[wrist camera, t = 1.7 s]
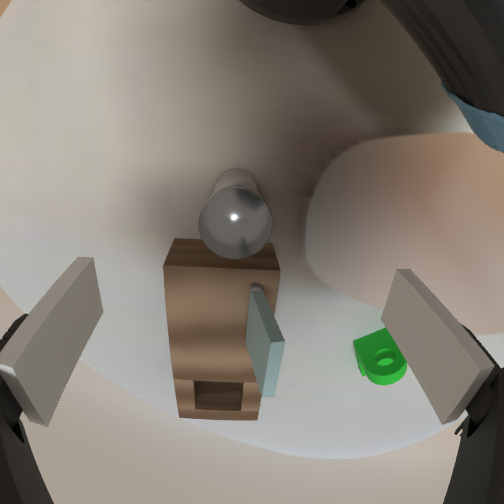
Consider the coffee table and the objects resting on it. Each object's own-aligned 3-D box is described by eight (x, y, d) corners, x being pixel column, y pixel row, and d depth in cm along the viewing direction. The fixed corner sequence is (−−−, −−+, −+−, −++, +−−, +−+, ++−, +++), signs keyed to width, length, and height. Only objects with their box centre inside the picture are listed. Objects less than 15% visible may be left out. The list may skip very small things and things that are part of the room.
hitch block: (174, 238, 31) (163, 265, 26) (272, 243, 32) (280, 270, 27) (183, 384, 40) (179, 417, 35) (254, 387, 41) (257, 420, 36)
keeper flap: (249, 283, 27) (271, 340, 20) (260, 283, 27) (285, 339, 20) (244, 340, 29) (261, 399, 23) (254, 339, 30) (273, 397, 23)
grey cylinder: (211, 163, 28) (199, 188, 19) (262, 166, 29) (275, 191, 19) (210, 211, 30) (198, 257, 21) (258, 214, 31) (268, 260, 21)
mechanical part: (358, 367, 41) (375, 407, 34) (352, 339, 39) (372, 382, 32) (428, 335, 40) (453, 370, 33) (428, 306, 38) (457, 341, 30)
